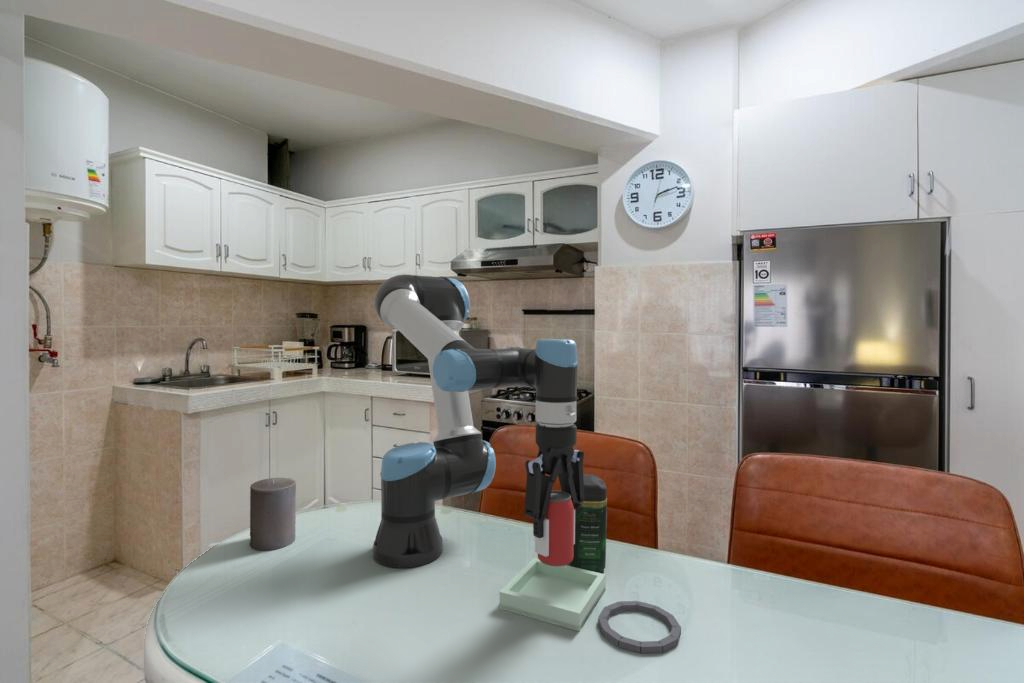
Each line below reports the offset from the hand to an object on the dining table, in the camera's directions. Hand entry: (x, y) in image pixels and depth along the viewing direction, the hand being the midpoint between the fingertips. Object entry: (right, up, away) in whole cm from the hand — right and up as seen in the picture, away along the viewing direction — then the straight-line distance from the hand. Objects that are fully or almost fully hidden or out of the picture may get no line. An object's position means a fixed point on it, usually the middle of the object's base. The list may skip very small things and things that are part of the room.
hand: (555, 547), depth 94 cm
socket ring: (+13, -10, -9) cm, 19 cm away
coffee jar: (+8, -9, +14) cm, 19 cm away
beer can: (0, -2, 0) cm, 2 cm away
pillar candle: (-63, -9, +24) cm, 68 cm away
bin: (0, -10, 0) cm, 10 cm away
